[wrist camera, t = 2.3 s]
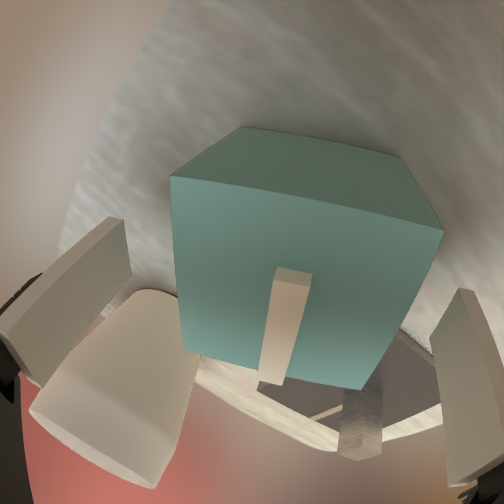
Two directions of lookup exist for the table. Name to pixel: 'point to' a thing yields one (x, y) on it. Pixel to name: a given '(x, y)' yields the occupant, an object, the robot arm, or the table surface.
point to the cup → (124, 390)
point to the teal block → (298, 254)
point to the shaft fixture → (366, 398)
